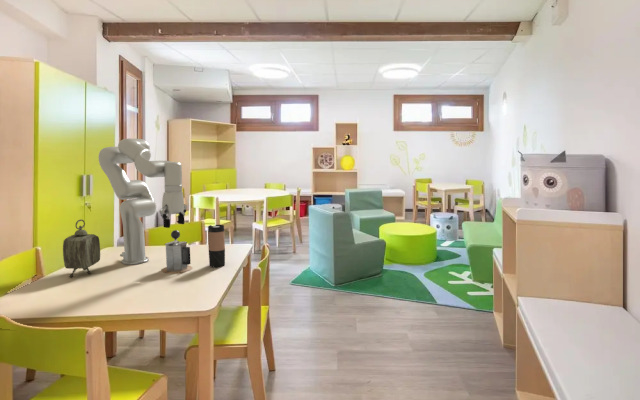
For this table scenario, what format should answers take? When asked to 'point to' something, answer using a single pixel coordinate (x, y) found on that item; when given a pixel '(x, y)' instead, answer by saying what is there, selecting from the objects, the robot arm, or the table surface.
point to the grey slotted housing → (177, 256)
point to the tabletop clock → (81, 250)
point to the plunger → (175, 235)
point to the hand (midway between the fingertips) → (174, 225)
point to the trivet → (176, 272)
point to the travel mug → (216, 246)
